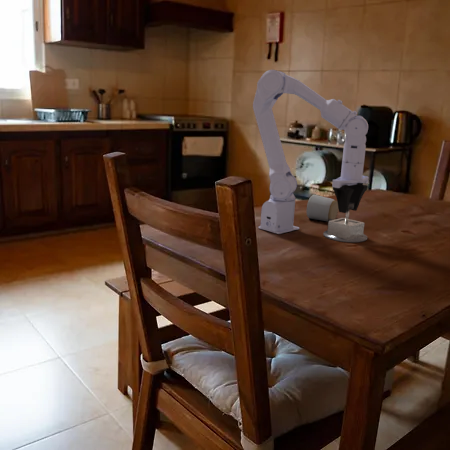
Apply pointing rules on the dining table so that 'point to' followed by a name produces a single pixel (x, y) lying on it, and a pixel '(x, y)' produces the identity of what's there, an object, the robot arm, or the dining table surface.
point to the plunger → (350, 206)
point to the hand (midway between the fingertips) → (347, 211)
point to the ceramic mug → (322, 208)
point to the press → (345, 231)
